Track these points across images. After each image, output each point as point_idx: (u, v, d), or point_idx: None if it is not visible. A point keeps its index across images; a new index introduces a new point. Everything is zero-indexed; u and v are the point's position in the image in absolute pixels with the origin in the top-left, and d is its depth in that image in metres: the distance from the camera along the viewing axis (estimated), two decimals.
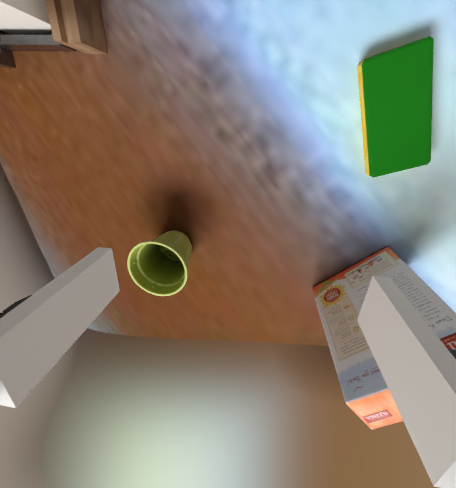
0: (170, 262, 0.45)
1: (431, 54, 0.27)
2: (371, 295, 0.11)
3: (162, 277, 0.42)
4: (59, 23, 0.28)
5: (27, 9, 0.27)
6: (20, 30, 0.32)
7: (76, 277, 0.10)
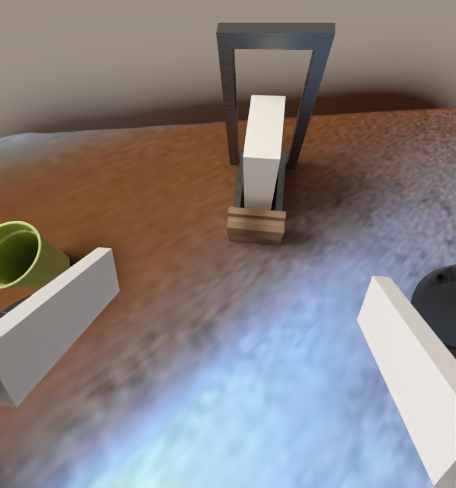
0: (33, 260, 0.40)
1: None
2: (371, 295, 0.11)
3: (6, 252, 0.36)
4: (239, 214, 0.35)
5: (247, 195, 0.34)
6: None
7: (76, 277, 0.10)
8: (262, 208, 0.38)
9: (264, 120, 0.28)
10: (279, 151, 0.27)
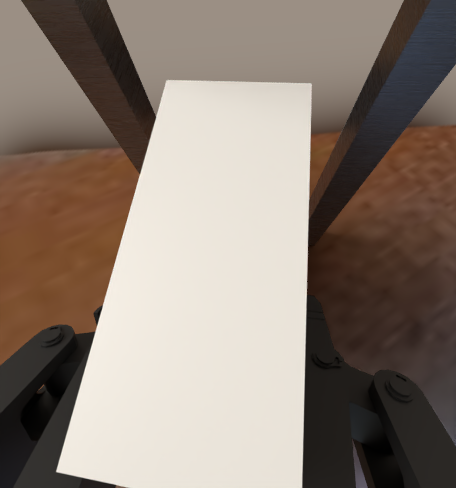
0: None
1: None
2: None
3: None
4: None
5: None
6: None
7: None
8: None
9: (209, 201, 0.06)
10: (294, 441, 0.04)
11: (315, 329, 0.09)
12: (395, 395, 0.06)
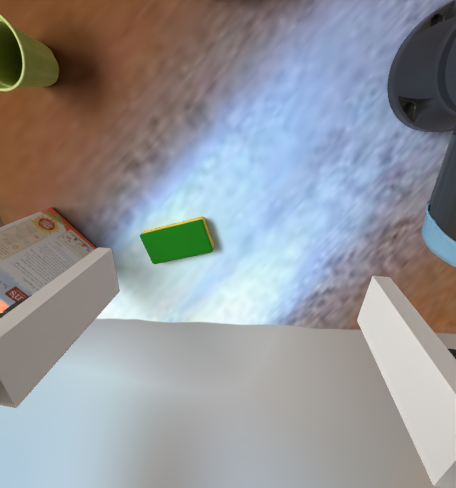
0: (18, 56, 0.40)
1: (204, 252, 0.50)
2: (371, 295, 0.11)
3: None
4: None
5: None
6: None
7: (76, 277, 0.10)
8: None
9: None
10: None
11: None
12: None
